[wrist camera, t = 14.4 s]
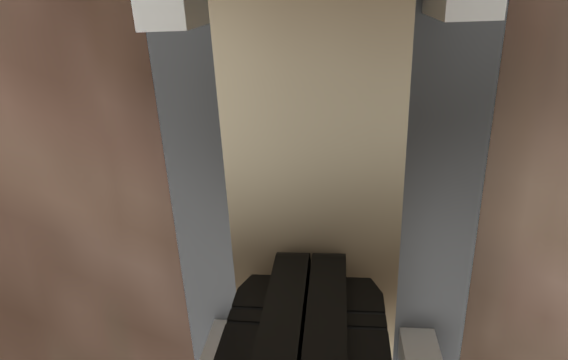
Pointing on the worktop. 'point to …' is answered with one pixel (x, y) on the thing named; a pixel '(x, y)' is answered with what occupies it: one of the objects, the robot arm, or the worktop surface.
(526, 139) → the worktop surface
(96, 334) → the worktop surface
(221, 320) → the board
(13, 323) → the worktop surface
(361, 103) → the slat
